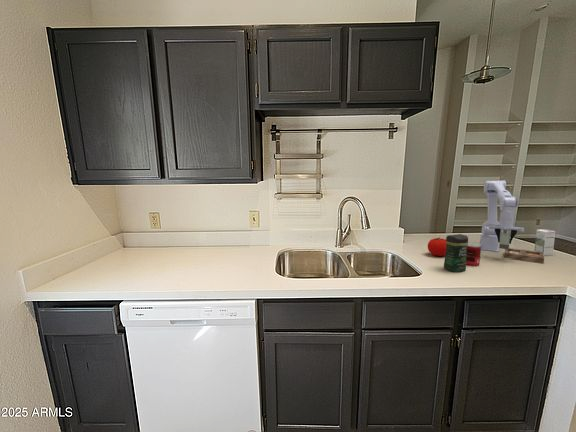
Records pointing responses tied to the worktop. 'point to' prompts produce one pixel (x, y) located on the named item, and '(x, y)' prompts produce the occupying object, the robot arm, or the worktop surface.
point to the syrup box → (545, 241)
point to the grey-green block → (504, 241)
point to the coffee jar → (456, 253)
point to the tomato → (437, 246)
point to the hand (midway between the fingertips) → (504, 242)
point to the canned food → (473, 254)
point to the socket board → (524, 255)
